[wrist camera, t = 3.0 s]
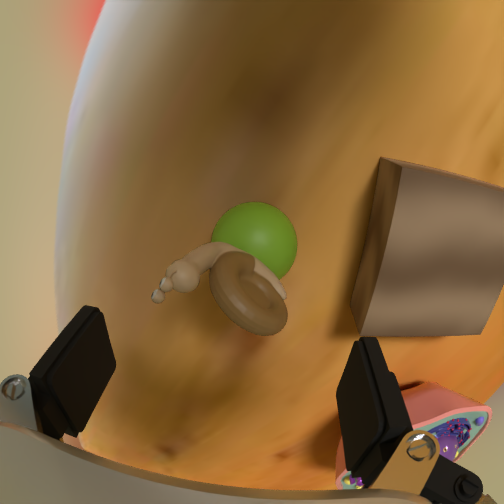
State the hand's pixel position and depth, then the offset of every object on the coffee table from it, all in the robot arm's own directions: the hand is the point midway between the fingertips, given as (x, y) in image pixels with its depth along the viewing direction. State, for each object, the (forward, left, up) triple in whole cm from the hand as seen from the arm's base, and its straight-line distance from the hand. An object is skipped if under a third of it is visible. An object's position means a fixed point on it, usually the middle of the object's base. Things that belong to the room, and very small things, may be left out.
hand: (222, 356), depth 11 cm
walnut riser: (0, +15, -13) cm, 19 cm away
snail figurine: (0, 0, -13) cm, 13 cm away
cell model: (+21, +19, -13) cm, 31 cm away
